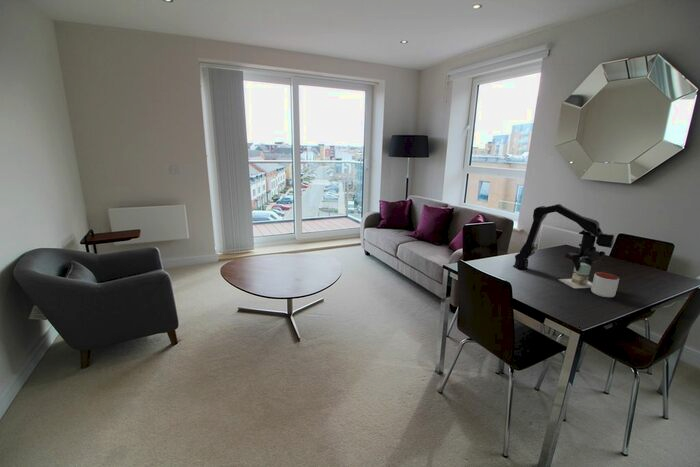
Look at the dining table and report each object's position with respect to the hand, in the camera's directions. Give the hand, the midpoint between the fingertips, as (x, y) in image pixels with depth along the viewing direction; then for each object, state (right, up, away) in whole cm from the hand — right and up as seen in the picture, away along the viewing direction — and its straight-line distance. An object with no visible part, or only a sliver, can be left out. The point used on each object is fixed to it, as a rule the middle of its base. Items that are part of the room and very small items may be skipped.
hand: (581, 270), depth 176 cm
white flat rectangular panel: (0, -7, +2) cm, 8 cm away
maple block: (0, -7, +2) cm, 7 cm away
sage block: (0, -1, 0) cm, 1 cm away
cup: (+3, -11, -10) cm, 15 cm away
